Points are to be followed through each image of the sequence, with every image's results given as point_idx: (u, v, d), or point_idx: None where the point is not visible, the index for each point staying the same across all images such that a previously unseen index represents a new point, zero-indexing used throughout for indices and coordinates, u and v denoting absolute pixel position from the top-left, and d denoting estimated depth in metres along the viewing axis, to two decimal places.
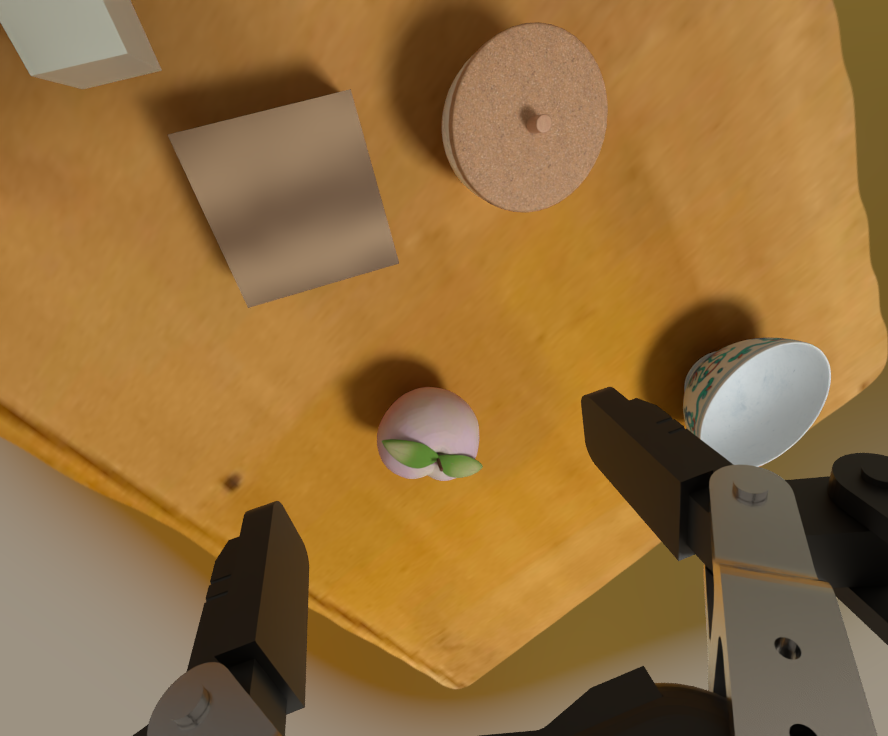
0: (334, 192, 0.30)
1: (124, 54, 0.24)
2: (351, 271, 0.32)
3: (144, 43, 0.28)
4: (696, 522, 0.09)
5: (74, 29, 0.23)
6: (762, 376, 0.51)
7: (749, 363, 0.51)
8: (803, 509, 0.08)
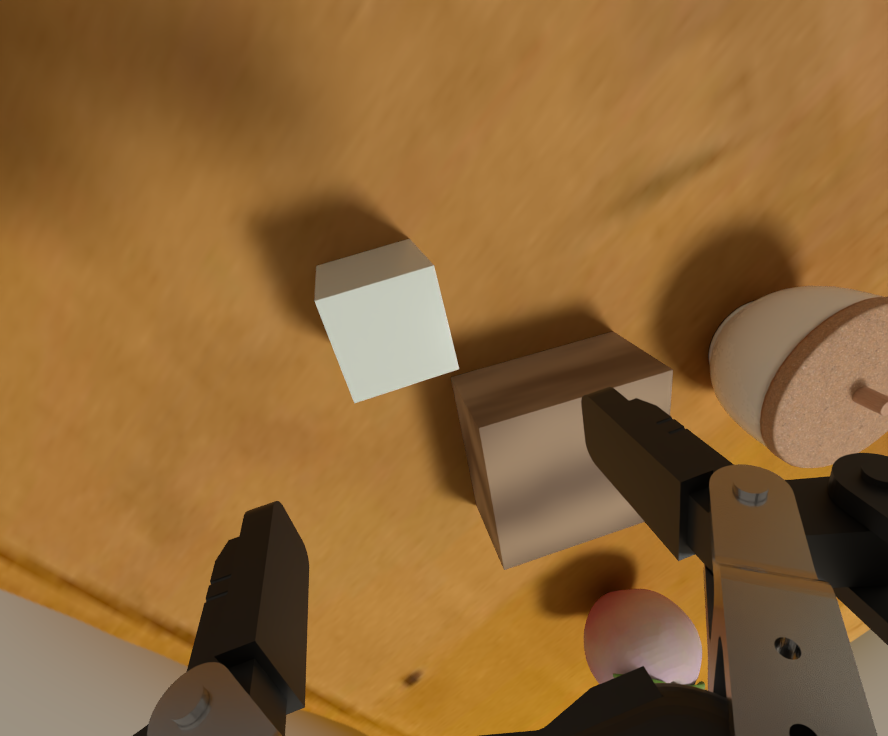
0: None
1: (454, 369, 0.21)
2: (614, 527, 0.29)
3: None
4: (696, 522, 0.09)
5: (411, 354, 0.20)
6: None
7: None
8: (803, 509, 0.08)
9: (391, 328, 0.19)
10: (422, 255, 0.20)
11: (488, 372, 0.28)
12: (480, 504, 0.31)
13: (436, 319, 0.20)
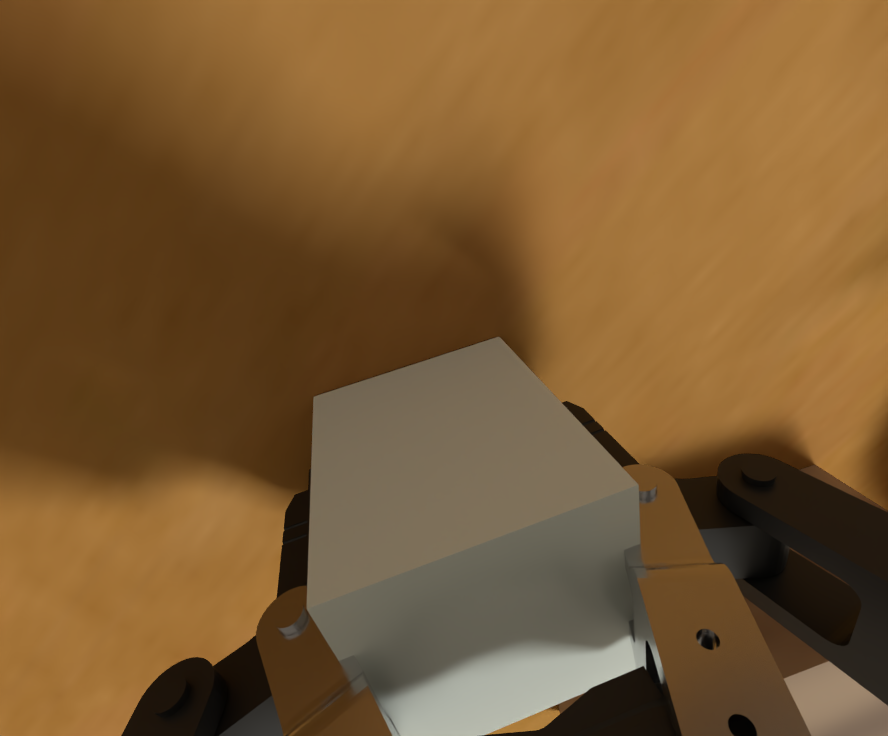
0: (870, 724, 0.15)
1: None
2: None
3: None
4: None
5: (546, 663, 0.08)
6: None
7: None
8: (691, 506, 0.08)
9: (507, 627, 0.07)
10: (568, 416, 0.08)
11: None
12: None
13: (617, 592, 0.08)
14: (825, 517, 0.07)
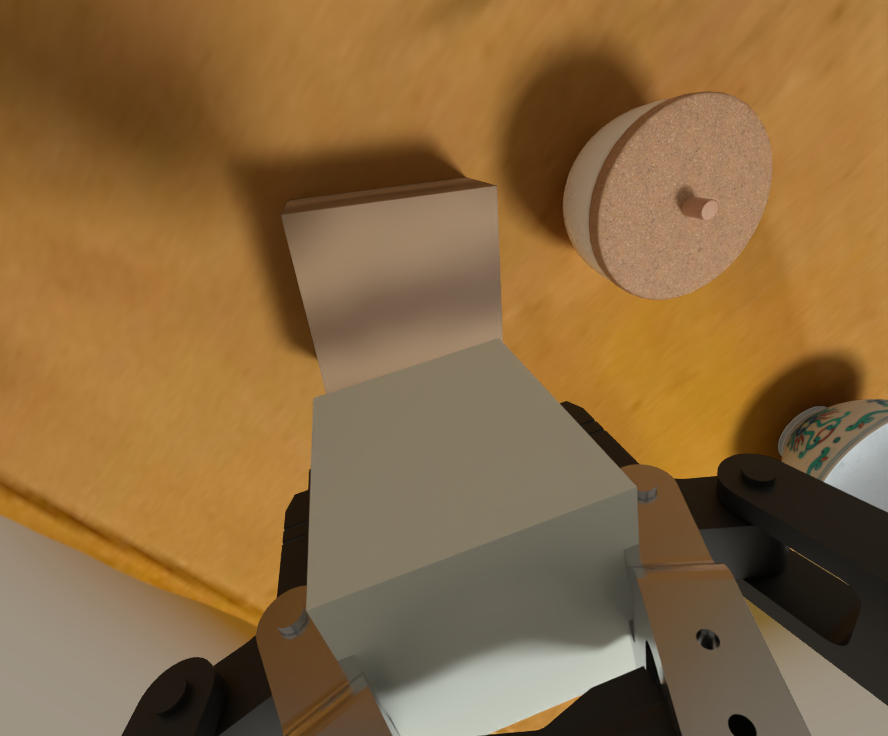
0: (452, 292, 0.26)
1: None
2: None
3: None
4: None
5: (546, 665, 0.08)
6: None
7: None
8: (691, 506, 0.08)
9: (506, 628, 0.07)
10: (567, 418, 0.08)
11: (326, 196, 0.27)
12: None
13: (616, 594, 0.08)
14: (825, 517, 0.07)
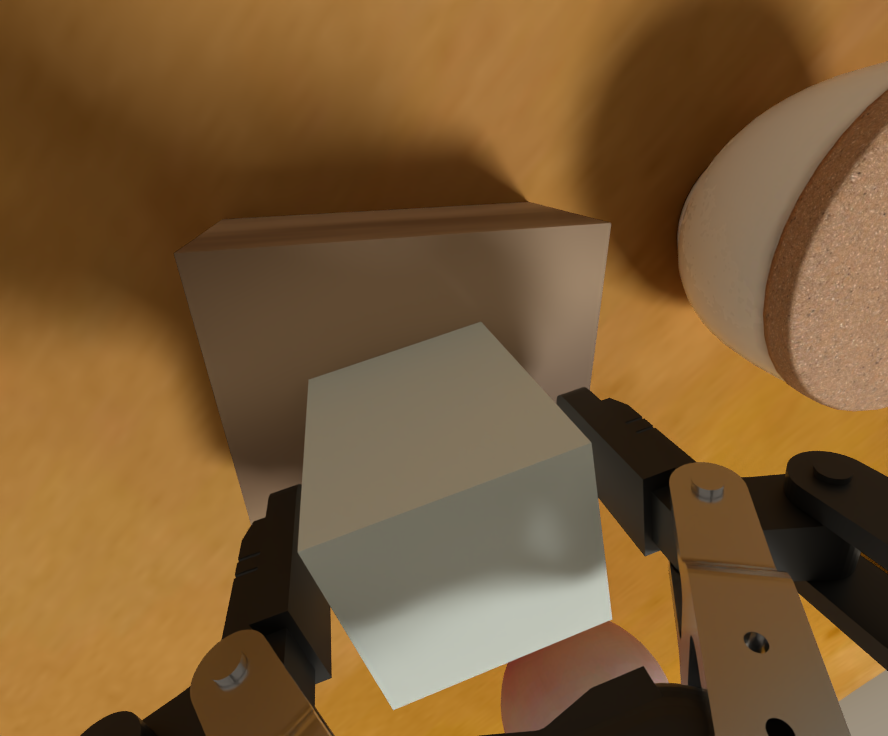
0: None
1: (601, 619, 0.10)
2: None
3: None
4: (659, 518, 0.09)
5: (519, 613, 0.09)
6: None
7: None
8: (758, 505, 0.08)
9: (480, 575, 0.08)
10: (537, 388, 0.09)
11: (290, 217, 0.15)
12: None
13: (580, 545, 0.09)
14: None
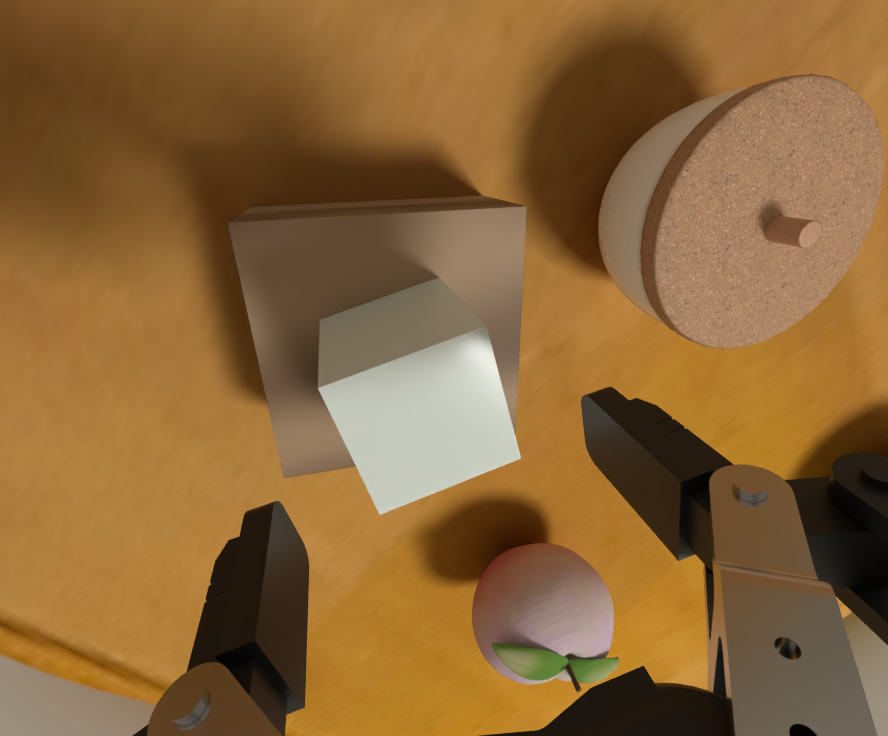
0: None
1: (514, 459, 0.15)
2: None
3: None
4: (696, 522, 0.09)
5: (456, 446, 0.14)
6: None
7: None
8: (803, 509, 0.08)
9: (428, 414, 0.14)
10: (464, 306, 0.15)
11: (301, 205, 0.21)
12: None
13: (490, 398, 0.14)
14: None
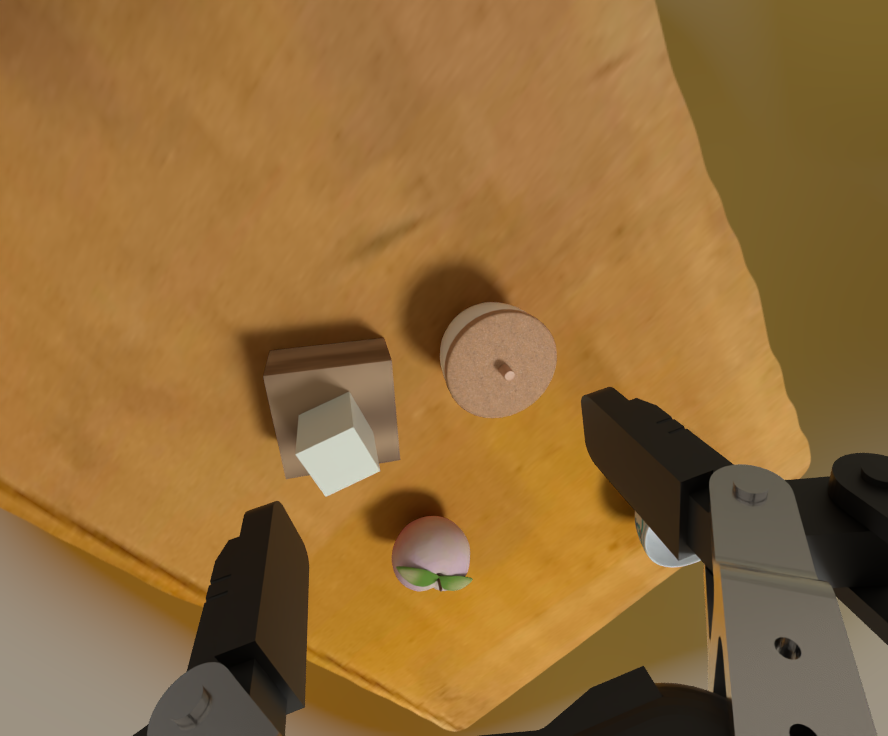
0: (365, 415, 0.43)
1: (377, 471, 0.38)
2: None
3: (368, 430, 0.42)
4: (696, 522, 0.09)
5: (351, 468, 0.37)
6: None
7: None
8: (803, 509, 0.08)
9: (337, 458, 0.37)
10: (350, 414, 0.38)
11: (293, 350, 0.44)
12: None
13: (361, 450, 0.37)
14: None
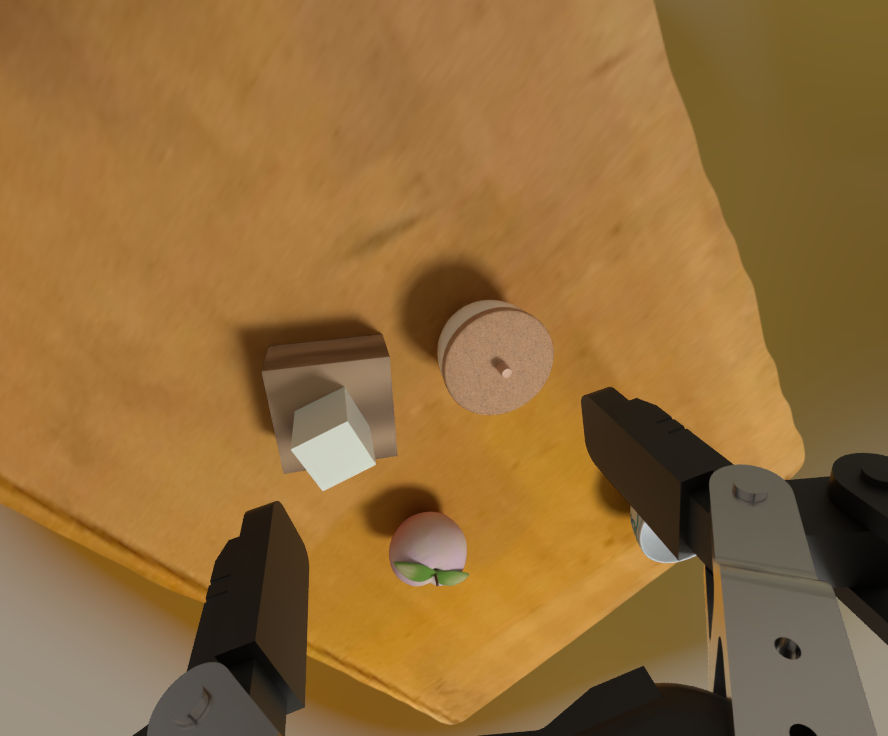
0: (363, 411, 0.43)
1: (373, 464, 0.38)
2: None
3: (364, 425, 0.42)
4: (696, 522, 0.09)
5: (347, 462, 0.38)
6: None
7: None
8: (803, 509, 0.08)
9: (332, 453, 0.37)
10: (345, 409, 0.38)
11: (292, 345, 0.44)
12: None
13: (356, 444, 0.37)
14: None
